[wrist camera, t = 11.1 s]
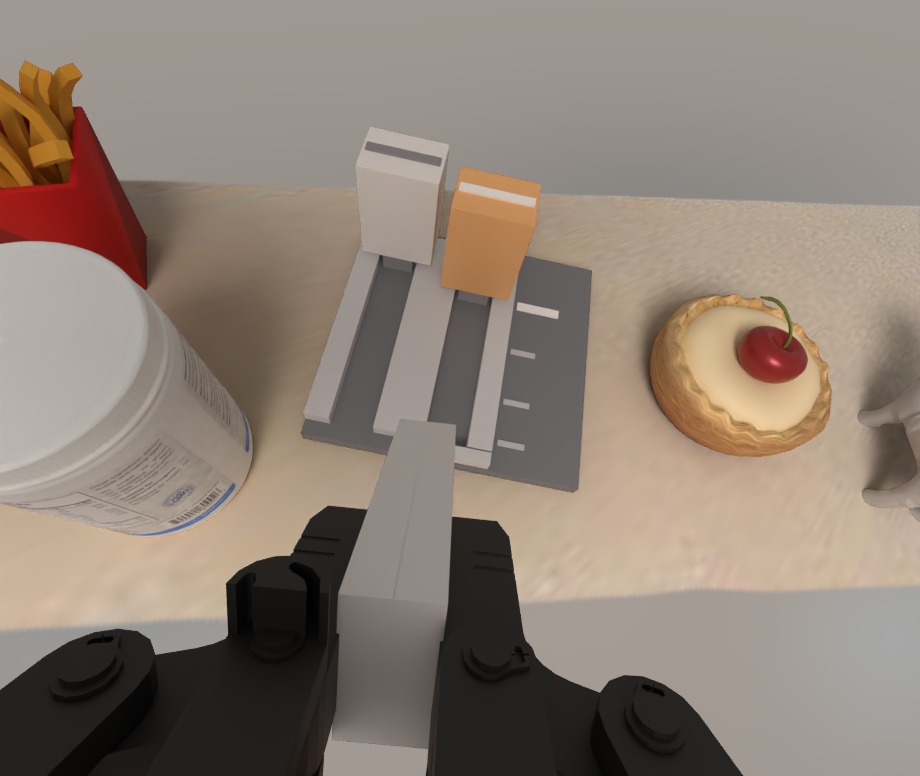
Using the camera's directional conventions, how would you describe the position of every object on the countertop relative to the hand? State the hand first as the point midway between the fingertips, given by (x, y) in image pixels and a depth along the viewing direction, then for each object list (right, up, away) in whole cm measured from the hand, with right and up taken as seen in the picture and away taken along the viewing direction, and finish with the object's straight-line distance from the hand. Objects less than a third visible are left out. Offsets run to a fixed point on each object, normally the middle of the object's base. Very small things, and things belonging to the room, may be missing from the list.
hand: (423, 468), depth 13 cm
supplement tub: (-17, -2, +17) cm, 24 cm away
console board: (+1, +5, +22) cm, 23 cm away
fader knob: (+2, +10, +23) cm, 26 cm away
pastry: (+20, +2, +24) cm, 31 cm away
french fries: (-23, +10, +22) cm, 33 cm away
